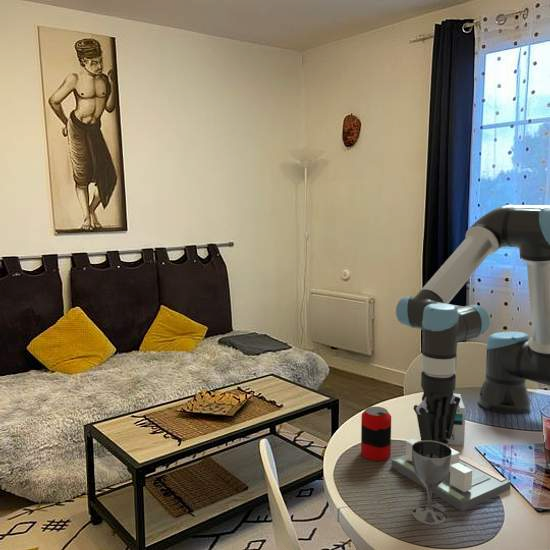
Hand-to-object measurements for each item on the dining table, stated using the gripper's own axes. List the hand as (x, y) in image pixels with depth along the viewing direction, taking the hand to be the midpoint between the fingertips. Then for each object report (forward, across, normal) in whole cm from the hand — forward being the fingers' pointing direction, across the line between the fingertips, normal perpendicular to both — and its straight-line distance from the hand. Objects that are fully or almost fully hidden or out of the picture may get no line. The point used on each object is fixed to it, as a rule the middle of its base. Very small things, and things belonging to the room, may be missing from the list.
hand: (435, 468), depth 129 cm
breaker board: (+4, -4, 0) cm, 6 cm away
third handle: (+1, -1, +7) cm, 7 cm away
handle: (+1, -1, -7) cm, 7 cm away
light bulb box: (+4, -22, -15) cm, 27 cm away
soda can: (+4, +2, -18) cm, 19 cm away
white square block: (+1, -5, 0) cm, 5 cm away
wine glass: (+4, +10, +8) cm, 14 cm away
